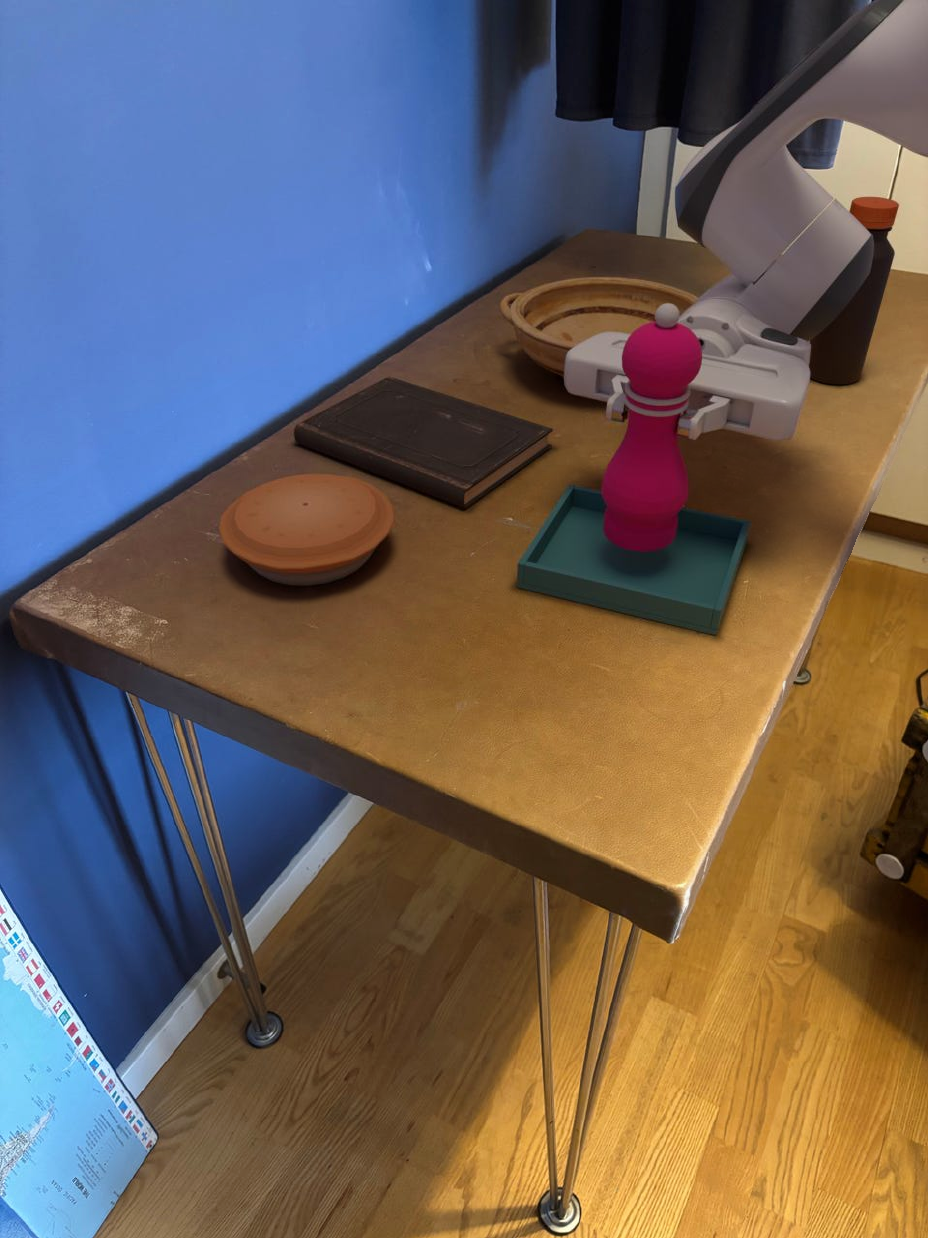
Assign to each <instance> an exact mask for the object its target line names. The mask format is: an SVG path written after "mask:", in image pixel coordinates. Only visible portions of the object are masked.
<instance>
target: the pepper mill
mask: <svg viewBox="0 0 928 1238" xmlns="http://www.w3.org/2000/svg"><path fill="white" fill-rule="evenodd" d="M679 315H680V314H679V310H678V308H677V307H676V306H675V305H673V304H670V303H666V304H663V305H661V306H660V307H659V308H658V309H657V311H656V313H655V320H656V321H655V322H650V323H647V324H644V325H642V326H641V327H639V328H637V329H636V330H635V331H634V332H633V333H632V334H631V335H630V336H629V338H628V339H627V341H626V344H625V346H624V349H623V353H622V368H623V371H624V373H625V375H626V377H627V378H628V379H629V380H630V381H628V382H627V384H626V386H625V391H626V394H625V396H624V402H625V404H626V406H627V407H628V408H629V418H628V421H627V426H626V431H625V434H624V437H623V439H622V441H621V442H620V444H619V446H618V448H617V449H616V451H615V452H614V454H613V455H612V457H611V459H610V460H609V462H608V464H607V466H606V468H605V471H604V473H603V476H602V481H601V487H600V491H601V493H602V497H603V499H604V501H605V503H606V504H607V506H608V507H607V508H606V510H605V514H604V523H603V531H604V534H605V536H606V537H607V539H608V540H609V541H611V542H612V543H613V544H615V545H617V546H619V547H621V548H624V549H627V550H631V551H639V552H649V551H656V550H660V549H662V548H665V547H667V546H668V545H669V544H671V543H672V542H673V540H674V538H675V536H676V530H677V524H678V517H677V513H678V512H679V511H680V510H681V509H682V508H683V507H684V506H685V505H686V504H687V501H688V499H689V487H690V486H689V485H690V482H689V481H690V480H689V475H688V474H689V473H688V470H687V467H686V463H685V460H684V458H683V455H682V453H681V449H680V445H679V438H678V437H679V436H678V435H677V430H678V429H679V425H678V424H679V418H680V415H681V412H683V411H684V410H685V409H686V408H687V407H688V404H689V401H688V397H689V395H690V388H689V386H688V384H690V383H691V382H692V381H693V380H694V379H695V377H696V376H697V375H698V373H699V371H700V368H701V363H702V349H701V345H700V342H699V340H698V338H697V336H696V335H695V334H694V333H693V332H692V331H691V330H690V329H689V328H687V327H686V326H684V325H682V324H679V323H677V322H678V320H679Z"/></svg>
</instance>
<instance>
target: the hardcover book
mask: <svg viewBox="0 0 928 1238" xmlns="http://www.w3.org/2000/svg"><path fill="white" fill-rule="evenodd" d="M553 431H554V430H553V428H552V427H549V426H545V425H542V424H539V423H536V422H533V421H529V420H526V419H523V418H520V417H517V416H514V415H511V414H508V413H505V412H501V411H498V410H496V409H492V408H489V407H486V406H484V405H483V406H482V405H479V404H476V403H474V402H471V401H467V400H465V399H461V398H458V397H454V396H452V395H449V394H445V393H443V392H440V391H436V390H433V389H431V388H430V389H429V388H426V387H424V386H420V385H418V384H415V383H412V382H408V381H405V380H402V379H398V378H395V377H393V376H386V377H384V378H383V379H380V380H379V381H377V382H375V383H373V384H371V385H369V386H367V387H366V388H364V389H362V390H359V391H358V392H356V393H354V394H352V395H350V396H349V397H346V398H343V399H342V400H340V401H339V402H337V403H335V404H332V405H331V406H329V407H327V408H325V409H323V410H322V411H319V412H318V413H316V414H314V415H312V416H310V417H308V418H306V419H304V420H302V421H301V422H298V423H297V424H296V425H295V426H294V429H293V437H294V441H295V443H297V444H299V445H302V446H304V447H306V448H309V449H312V450H314V451H317V452H318V453H319V452H320V453H322V454H325V455H327V456H330V457H332V458H334V459H338V460H340V461H342V462H345V463H348V464H350V465H353V466H355V467H357V468H360V469H362V470H365V471H368V472H370V473H373V474H376V475H378V476H381V477H384V478H386V479H389V480H391V481H394V482H396V483H398V484H401V485H404V486H406V487H409V488H412V489H414V490H416V491H419V492H422V493H424V494H426V495H429V496H432V497H435V498H437V499H440V500H442V501H444V502H448V503H450V504H452V505H455V506H458V507H460V508H463V509H468V508H469V507H471V506H472V505H474V504H475V503H477V502H478V501H479V500H481V499H482V498H484V497H485V496H486V495H488V494H489V493H490V492H492V491H493V490H495V489H496V488H497V487H499V486H500V485H502V484H503V483H504V482H505V481H507V480H509V479H510V478H511V477H513V476H514V475H515V474H516V473H518V472H520V471H521V470H522V469H524V468H525V467H527V466H528V465H530V464H531V463H533V461H535V460H536V459H538V458H539V457H540V456H542V455H543V454H544V453H546V452H548V450H550V449H552V448H553V447H552V446H553V445H552V444H549V435H550V434H551V433H553Z"/></svg>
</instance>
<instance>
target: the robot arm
mask: <svg viewBox="0 0 928 1238" xmlns="http://www.w3.org/2000/svg"><path fill="white" fill-rule="evenodd" d="M824 119H831V120H839V121H843V122H847V123H851V124H853V125H856V126H859V127H861V128H865V129H867V130H869V131H871V132H873V133H875V134H878V135H880V136H881V137H884V138H886V139H888V140H889V141H891V142H893V143H895V144H897V145H899V146H901V147H902V148H905V149H906V150H908V151H910V152H912V153H913V154H916V155H919V156H921V157H923V158H928V0H873V1H871V2H869V3H867V4H866V5H865V6H863V7H862V8H861V9H859V10H857V12H855V13H854V14H853V15H851V16H850V17H849V18H848V19H846V20H845V22H843V23H842V24H841V25H840V26H839V27H837V29H836V30H835V31H834V32H833V33H831V34H830V35H829V36H828V37H827V38H826V39H825V40H824V41H822V42H820V43H819V44H818V45H816V47H815V48H814V49H812V50H811V51H810V52H809V54H808V55H806V56H805V57H804V58H803V59H802V60H800V61H799V63H798V64H797V65H795V67H793V68H792V69H791V70H790V71H789V73H788V74H786V75H785V76H784V77H783V78H782V79H780V81H779V82H778V83H776V84H775V86H774V87H772V89H770V91H768V92H767V93H766V94H765V95H764V96H763V97H762V98H761V99H760V100H759V101H758V102H757V104H755V105H754V106H752V108H751V109H750V111H749V112H748V113H746V115H745V116H744V117H742V118H741V119H740V120H739V121H738V122H737V123H735V124H734V125H732V126H730V127H728V128H727V129H725V130H723V131H721V132H720V133H719V134H717V135H716V136H715V137H713V138H712V139H711V140H709V141H708V142H707V143H706V144H705V145H704V146H703V147H702V148H701V149H699V151H697V153H696V154H695V155H694V156H693V158H691V160H690V161H689V162H688V164H686V165H687V166H686V167H685V168H684V170H683V171H682V173H681V176H680V177H679V179H678V182H677V185H676V186H675V187H674V208H675V218H676V223H677V227H678V228H679V230H681V231H682V232H684V233H685V234H686V235H688V237H690V238H691V239H692V240H693V241H694V242H696V243H697V244H698V245H700V246H701V247H702V248H704V249H707V250H708V251H709V252H710V253H711V254H712V255H713V256H714V257H715V258H716V259H717V260H718V261H720V263H721V264H723V266H725V268H727V269H728V270H729V272H730V274H728V275H726V276H724V277H723V278H722V279H720V280H719V281H717V282H716V283H715V284H713V285H712V286H711V287H709V288H708V289H706V291H705V292H704V293H703V294H701V295H700V296H699V297H698V298H699V299H698V300H697V301H696V302H695V304H694V305H692V306H691V307H689V308H688V309H687V310H686V311H685V312H684V313H683V314H682V315H681V316H679V320H678V322H677V323H679V324H682V325H684V326H686V327H687V328H689V329H690V330H691V331H692V332H693V333H694V334H695V335H696V336H697V338H698V340H699V342H700V345H701V349H702V363H701V368H700V371H699V373H698V375H697V376H696V377H695V379H694V380H693V381H692V382H691V383H690V384H688V386H689V388H690V395H689V397H688V401H689V404H688V407H687V408H686V409H685V410H684V411H683V412H681V415H680V418H679V422H678V430H677V437H681V438H685V439H688V440H692V441H696V440H697V439H698V438H699V437H700V435H701V434H704V433H709V432H713V431H717V430H722V429H723V430H727V431H730V432H736V433H739V434H740V433H741V434H745V435H748V436H754V437H758V438H761V439H767V440H770V441H774V442H785V441H789V440H792V439H793V438H794V437H795V435H796V434H797V433H798V429H799V426H800V422H801V418H802V415H803V411H804V407H805V403H806V398H807V394H808V390H809V385H810V380H811V378H810V369H809V362H810V353H811V344H810V343H809V342H810V340H811V339H813V338H814V337H815V336H816V335H818V334H819V333H820V332H821V331H822V330H824V329H825V328H826V327H827V326H828V325H829V324H830V323H831V322H832V321H833V320H834V319H835V318H836V317H837V316H838V315H839V314H840V313H841V311H842V310H843V309H844V308H845V307H846V306H847V304H848V303H849V302H850V300H851V299H852V298H853V297H854V295H855V294H856V292H857V291H858V290H859V288H860V287H861V285H862V284H863V282H864V281H865V279H866V278H867V277H868V275H869V274H870V269H871V265H872V259H873V253H874V239H873V235H871V234H870V232H869V231H868V230H867V229H866V228H865V227H864V226H863V225H862V224H861V223H860V222H859V221H858V220H857V219H856V218H855V217H854V216H853V215H852V214H851V213H850V212H849V211H850V210H848V208H846V207H845V206H844V205H843V204H842V203H841V202H840V201H839V200H838V199H837V198H834V197H833V196H832V195H831V194H830V193H829V192H828V190H826V189H825V188H824V187H823V186H822V185H821V184H820V183H819V182H818V181H817V180H816V179H815V178H814V177H813V176H812V175H810V173H808V171H807V170H806V169H804V167H803V166H802V165H800V163H798V162H797V161H796V160H795V158H794V157H793V155H792V154H791V153H790V151H789V149H788V147H787V145H788V144H789V143H790V142H792V141H793V140H794V139H795V138H797V137H798V136H799V135H800V134H801V133H803V132H804V131H805V130H806V129H807V128H808V127H809V126H811V125H812V124H814V123H815V122H816V121H819V120H824ZM630 335H631V334H628V333H623V332H613V331H610V332H603V333H599V334H597V335H594V336H592V337H590V338H588V339H587V340H585V341H583V342H581V343H580V344H578V345H576V346H575V347H573V348H572V349H571V350H570V351H569V352H568V353H567V355H566V359H565V367H564V378H563V383H564V387H565V389H566V391H567V392H568V393H569V394H571V395H574V396H579V397H583V398H588V399H592V400H597V401H601V402H605V403H606V410H605V419H606V420H608V421H613V422H618V423H623V424H624V423H625V422H626V420H629V408H628V407H627V406H626V404H625V402H624V396H625V394H626V391H625V386H626V384H627V382H628V381H630V380H629V379H628V378H627V377H626V375H625V373H624V371H623V368H622V353H623V349H624V346H625V344H626V341H627V339H628V338H629V336H630Z"/></svg>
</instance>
